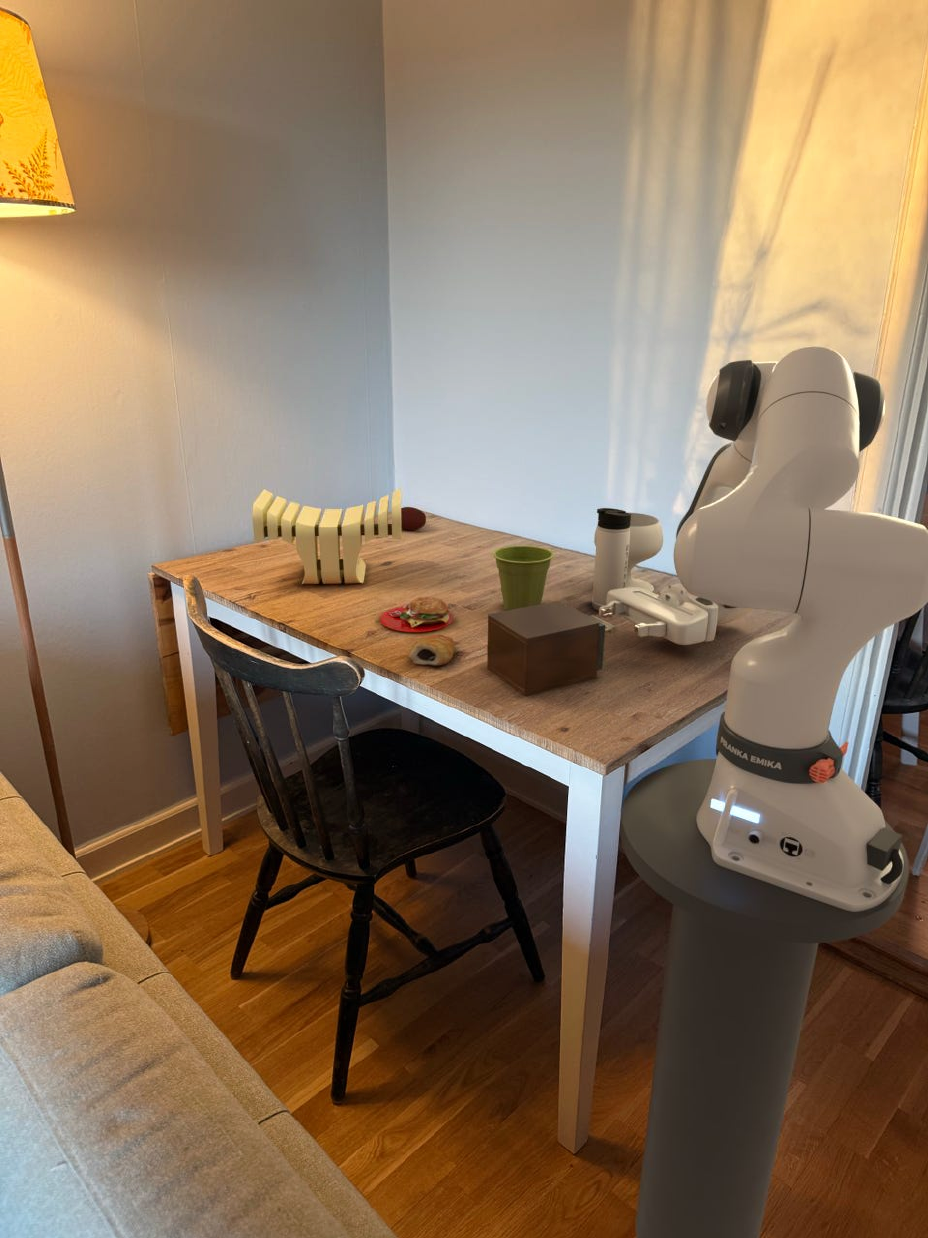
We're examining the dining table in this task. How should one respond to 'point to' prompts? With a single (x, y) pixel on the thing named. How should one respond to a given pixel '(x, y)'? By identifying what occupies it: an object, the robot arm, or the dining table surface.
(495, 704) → the dining table surface
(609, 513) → the travel mug
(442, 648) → the pastry
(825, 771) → the robot arm
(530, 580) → the plant pot
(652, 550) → the chalice
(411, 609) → the hamburger
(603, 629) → the drawer
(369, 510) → the slatted curved stool
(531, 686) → the cabinet
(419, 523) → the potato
